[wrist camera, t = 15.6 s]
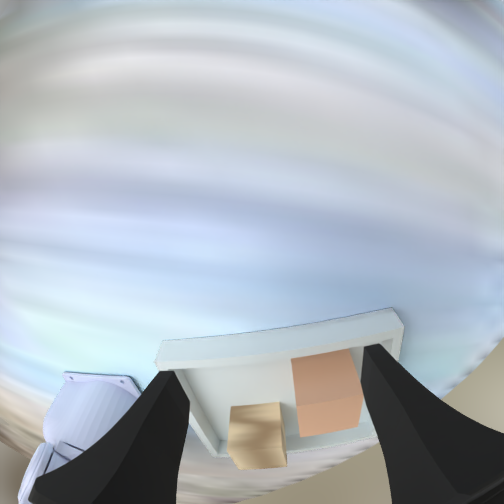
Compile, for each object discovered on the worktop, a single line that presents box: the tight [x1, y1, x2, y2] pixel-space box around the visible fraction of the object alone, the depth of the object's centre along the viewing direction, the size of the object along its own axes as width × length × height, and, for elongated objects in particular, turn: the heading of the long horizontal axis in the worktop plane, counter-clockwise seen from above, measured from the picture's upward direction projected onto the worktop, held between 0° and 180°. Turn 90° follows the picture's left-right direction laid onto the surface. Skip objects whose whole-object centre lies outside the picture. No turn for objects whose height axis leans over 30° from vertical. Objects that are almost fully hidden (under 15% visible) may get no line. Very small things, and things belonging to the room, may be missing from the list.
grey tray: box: [154, 307, 404, 458], centre depth 22 cm, size 18×16×2 cm
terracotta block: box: [291, 348, 364, 437], centre depth 19 cm, size 4×4×5 cm
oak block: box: [227, 402, 287, 470], centre depth 22 cm, size 4×4×5 cm
